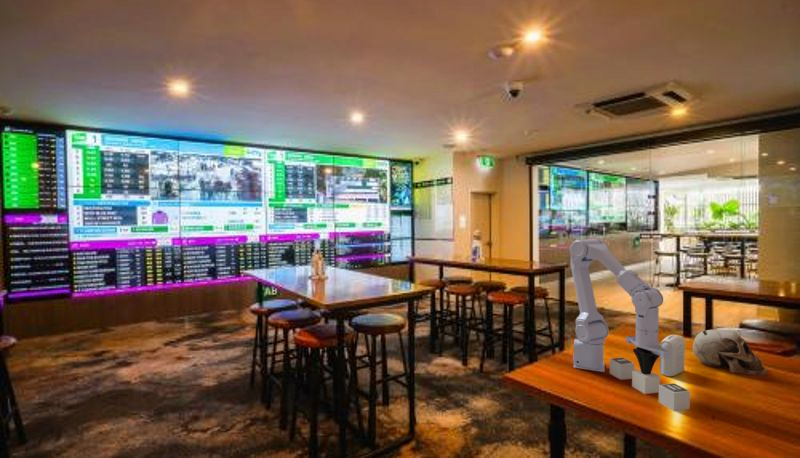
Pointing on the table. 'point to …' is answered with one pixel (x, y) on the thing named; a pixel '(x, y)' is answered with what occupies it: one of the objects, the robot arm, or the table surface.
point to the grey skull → (727, 352)
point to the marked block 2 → (674, 397)
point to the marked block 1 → (621, 368)
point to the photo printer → (673, 355)
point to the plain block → (645, 382)
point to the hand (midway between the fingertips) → (646, 373)
